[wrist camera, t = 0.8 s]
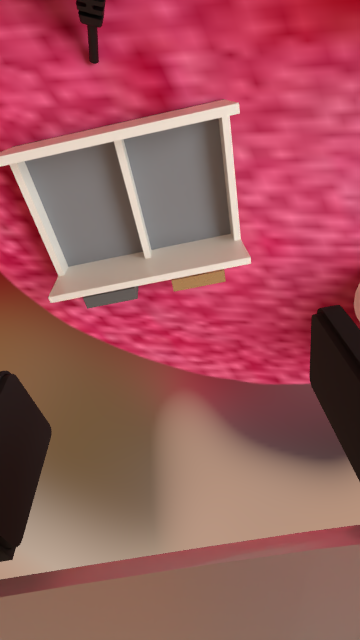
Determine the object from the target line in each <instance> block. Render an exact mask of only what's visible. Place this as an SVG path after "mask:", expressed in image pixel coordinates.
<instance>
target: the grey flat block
mask: <svg viewBox="0 0 360 640" xmlns="http://www.w3.org/2000/svg"><path fill="white" fill-rule="evenodd" d="M137 298H138V286H135V287H130V288H125V289H120V290H115V291H109V292H104V293H99V294H94V295H89V296H84V297H83V299H84V301H85V304H86V306H87V308H92V307H97V306H102V305H108V304H113V303H118V302H123V301H128V300H133V299H137Z"/></svg>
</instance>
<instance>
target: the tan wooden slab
mask: <svg viewBox="0 0 360 640" xmlns="http://www.w3.org/2000/svg"><path fill="white" fill-rule="evenodd" d="M171 280H172V285H173V289H174V291H179V290H184V289H189V288H194V287H199V286H205V285H210V284H215V283H220V282H225V273H224V269H221V270H216V271H211V272H206V273H200V274H195V275H190V276H185V277H180V278H175V279H171Z"/></svg>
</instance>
